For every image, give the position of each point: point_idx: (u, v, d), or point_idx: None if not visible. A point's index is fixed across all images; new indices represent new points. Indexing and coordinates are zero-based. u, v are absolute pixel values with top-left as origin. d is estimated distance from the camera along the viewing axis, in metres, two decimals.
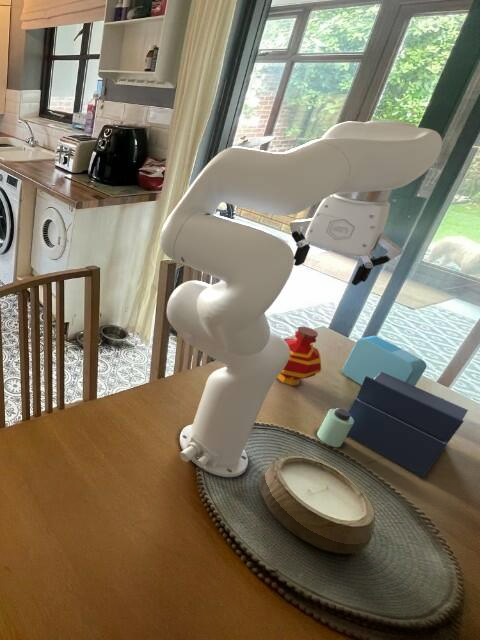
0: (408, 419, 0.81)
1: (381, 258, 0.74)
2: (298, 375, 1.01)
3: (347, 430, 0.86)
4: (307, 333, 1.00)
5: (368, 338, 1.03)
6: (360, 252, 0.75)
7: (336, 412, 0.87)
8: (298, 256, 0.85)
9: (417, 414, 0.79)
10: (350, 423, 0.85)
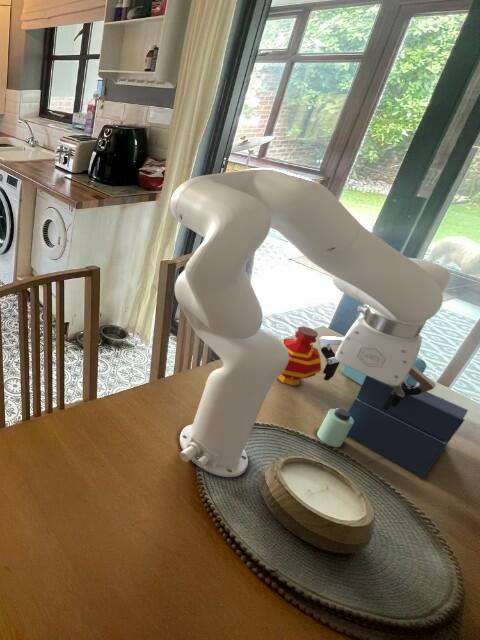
0: (408, 419, 0.81)
1: (413, 389, 0.76)
2: (298, 375, 1.01)
3: (347, 430, 0.86)
4: (307, 333, 1.00)
5: None
6: (392, 382, 0.77)
7: (336, 412, 0.87)
8: (328, 372, 0.86)
9: (417, 413, 0.79)
10: (350, 423, 0.85)
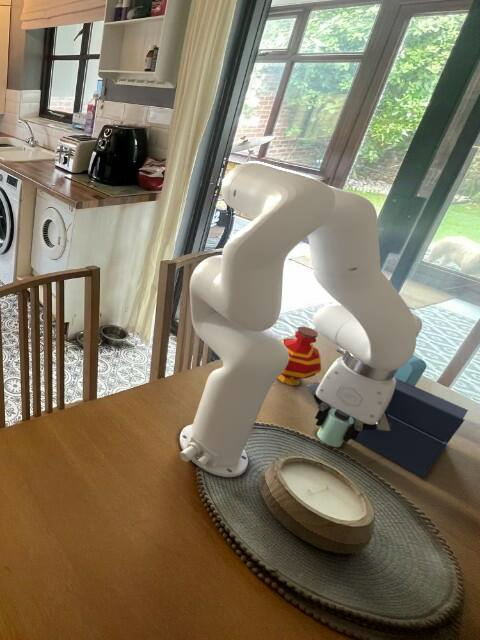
0: (408, 419, 0.81)
1: (369, 425, 0.82)
2: (298, 375, 1.01)
3: (347, 430, 0.86)
4: (307, 333, 1.00)
5: None
6: (368, 421, 0.81)
7: (336, 412, 0.87)
8: (320, 418, 0.89)
9: (417, 413, 0.79)
10: (350, 423, 0.85)
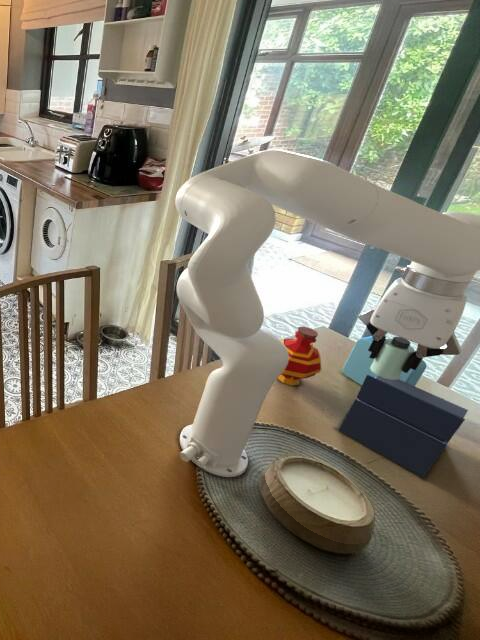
0: (408, 419, 0.81)
1: (434, 350, 0.74)
2: (298, 375, 1.01)
3: (407, 359, 0.78)
4: (307, 333, 1.00)
5: (368, 338, 1.03)
6: (434, 345, 0.73)
7: (394, 340, 0.78)
8: (374, 349, 0.81)
9: (418, 413, 0.79)
10: (410, 351, 0.77)
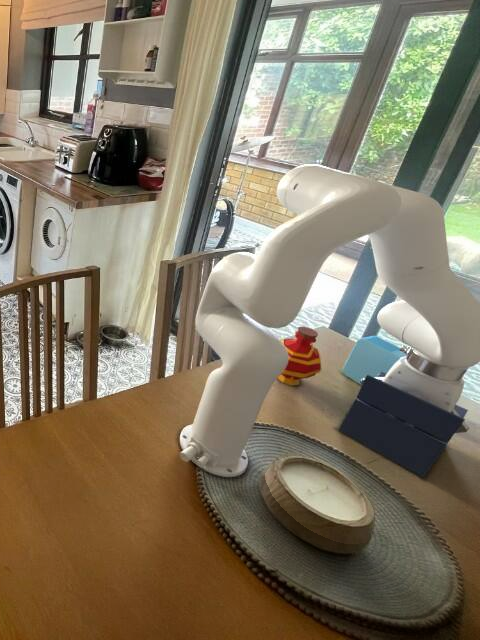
0: (408, 419, 0.81)
1: None
2: (298, 375, 1.01)
3: None
4: (307, 333, 1.00)
5: (368, 338, 1.03)
6: None
7: None
8: None
9: (418, 413, 0.79)
10: (411, 425, 0.84)
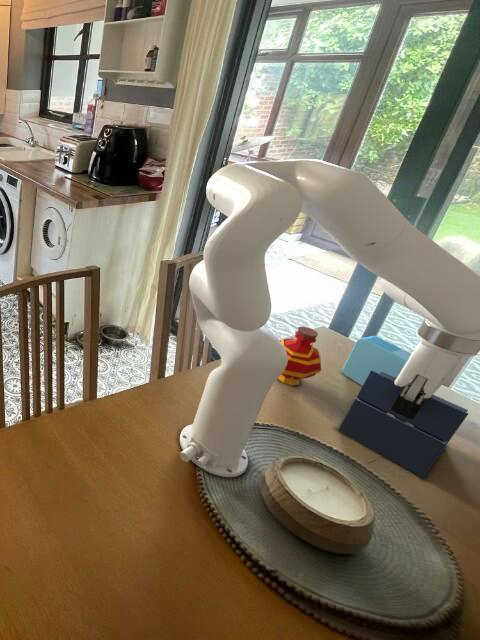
0: None
1: (407, 390, 0.76)
2: (298, 375, 1.01)
3: None
4: (307, 333, 1.00)
5: (368, 338, 1.03)
6: (395, 380, 0.76)
7: None
8: None
9: (420, 410, 0.79)
10: (411, 425, 0.84)
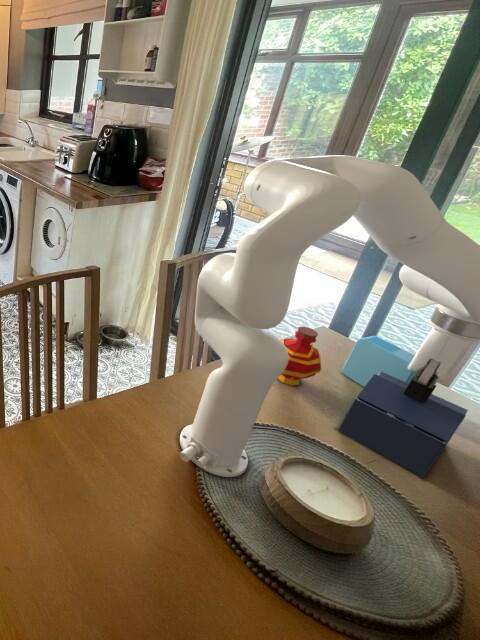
0: (410, 417, 0.82)
1: (419, 375, 0.80)
2: (298, 375, 1.01)
3: None
4: (307, 333, 1.00)
5: (368, 338, 1.03)
6: None
7: None
8: None
9: (421, 410, 0.82)
10: (411, 425, 0.84)
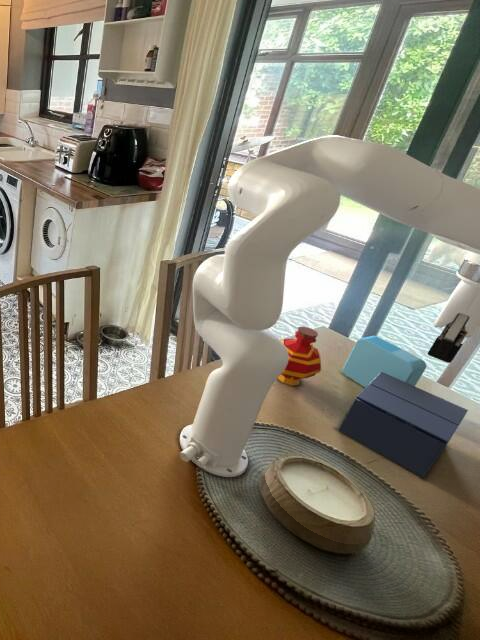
0: (409, 418, 0.82)
1: (445, 332, 0.76)
2: (298, 375, 1.01)
3: None
4: (307, 333, 1.00)
5: (368, 338, 1.03)
6: (434, 322, 0.76)
7: None
8: None
9: (417, 415, 0.83)
10: (411, 425, 0.84)
